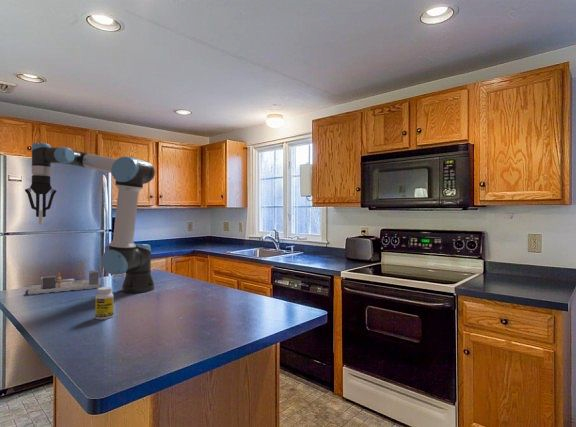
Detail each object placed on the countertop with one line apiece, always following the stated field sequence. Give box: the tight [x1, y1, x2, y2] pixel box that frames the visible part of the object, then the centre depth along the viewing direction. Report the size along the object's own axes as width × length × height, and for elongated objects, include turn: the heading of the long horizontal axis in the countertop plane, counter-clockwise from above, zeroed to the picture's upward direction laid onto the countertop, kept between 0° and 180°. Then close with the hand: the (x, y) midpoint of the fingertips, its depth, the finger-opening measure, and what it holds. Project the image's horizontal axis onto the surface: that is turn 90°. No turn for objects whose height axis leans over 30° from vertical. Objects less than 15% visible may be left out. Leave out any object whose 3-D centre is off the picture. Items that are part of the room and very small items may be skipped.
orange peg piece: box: [57, 272, 62, 283], centre depth 181 cm, size 2×3×5 cm, turn 32°
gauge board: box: [27, 269, 102, 296], centre depth 179 cm, size 30×13×8 cm, turn 122°
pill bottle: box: [94, 286, 115, 320], centre depth 133 cm, size 6×6×11 cm
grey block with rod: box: [40, 275, 75, 288], centre depth 177 cm, size 14×10×5 cm
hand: (40, 223), depth 172 cm, fingers closed
